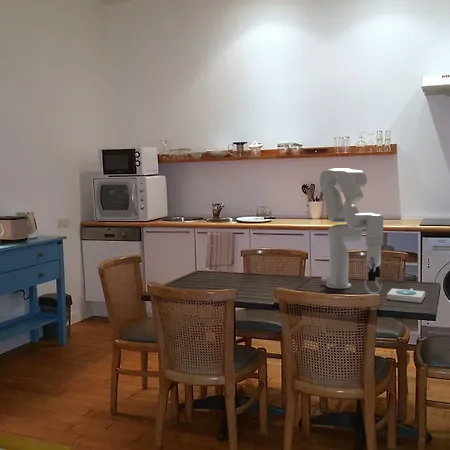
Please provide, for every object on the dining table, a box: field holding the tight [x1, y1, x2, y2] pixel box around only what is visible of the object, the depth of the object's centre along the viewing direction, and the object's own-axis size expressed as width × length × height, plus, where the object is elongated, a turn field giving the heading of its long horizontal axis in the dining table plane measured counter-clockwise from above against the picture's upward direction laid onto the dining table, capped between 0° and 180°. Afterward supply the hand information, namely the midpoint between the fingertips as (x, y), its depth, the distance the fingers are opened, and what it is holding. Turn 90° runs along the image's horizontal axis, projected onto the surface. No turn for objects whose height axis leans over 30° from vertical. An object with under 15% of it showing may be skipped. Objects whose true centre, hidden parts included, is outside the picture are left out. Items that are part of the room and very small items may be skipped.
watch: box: [363, 277, 383, 295], centre depth 265 cm, size 6×8×11 cm
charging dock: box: [386, 288, 426, 304], centre depth 274 cm, size 15×24×3 cm, turn 154°
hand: (374, 278), depth 264 cm, fingers open, 9 cm apart
